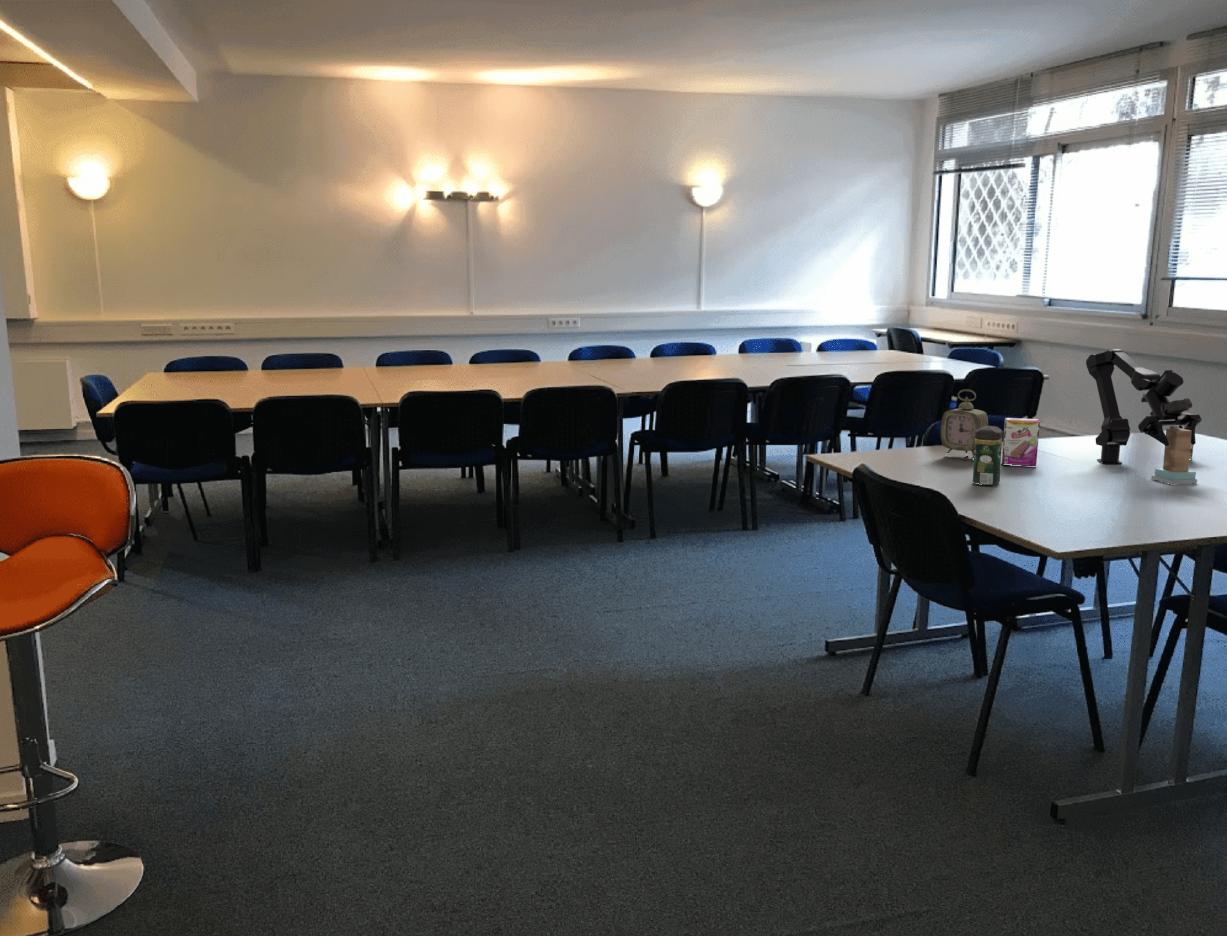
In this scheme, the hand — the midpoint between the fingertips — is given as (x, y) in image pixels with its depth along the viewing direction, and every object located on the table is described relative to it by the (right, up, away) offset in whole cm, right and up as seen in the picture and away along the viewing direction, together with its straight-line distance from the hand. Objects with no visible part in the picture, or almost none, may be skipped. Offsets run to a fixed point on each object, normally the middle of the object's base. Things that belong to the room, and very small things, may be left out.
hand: (1181, 444), depth 307 cm
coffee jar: (-60, -13, +6) cm, 61 cm away
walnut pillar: (0, -8, +3) cm, 9 cm away
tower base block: (0, -12, +4) cm, 13 cm away
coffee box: (+22, -4, +40) cm, 46 cm away
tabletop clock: (-52, -4, +47) cm, 70 cm away
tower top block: (0, -10, +4) cm, 11 cm away
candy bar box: (-38, -7, +32) cm, 50 cm away
